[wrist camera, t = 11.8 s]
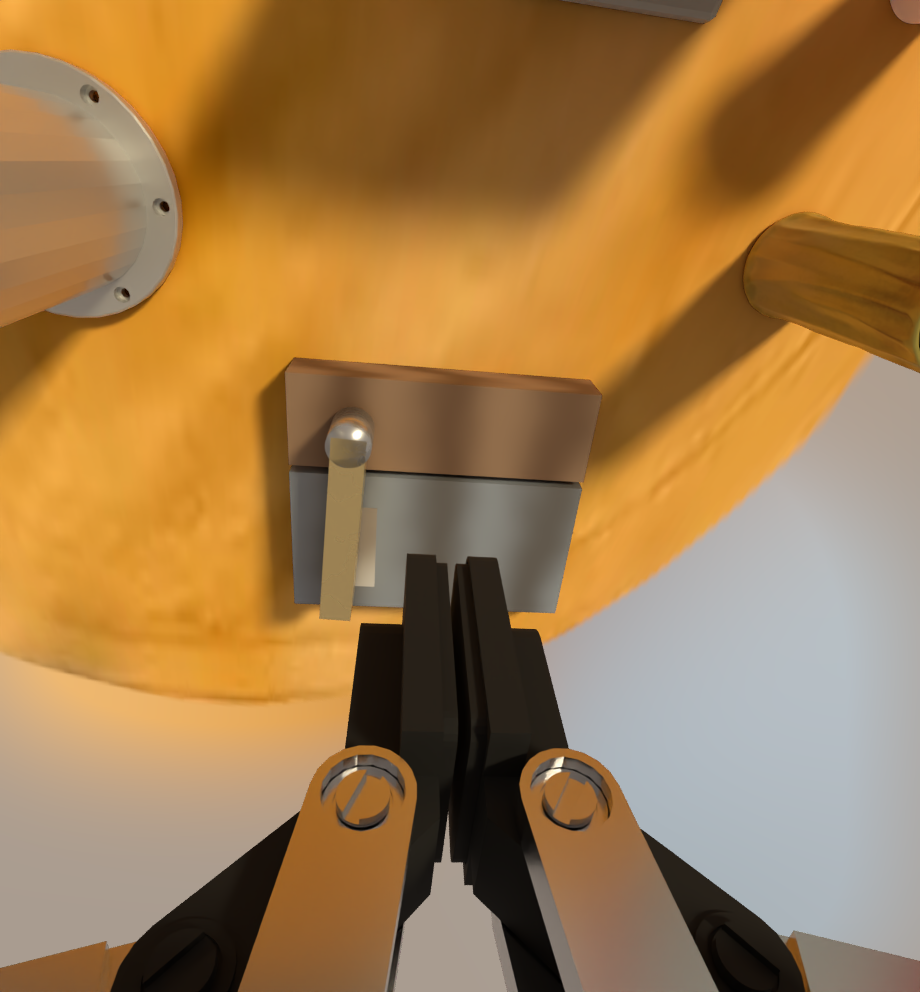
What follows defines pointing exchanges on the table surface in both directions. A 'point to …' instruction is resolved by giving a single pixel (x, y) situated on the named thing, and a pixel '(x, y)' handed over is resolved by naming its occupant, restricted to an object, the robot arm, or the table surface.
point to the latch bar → (344, 508)
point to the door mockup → (443, 474)
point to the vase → (840, 283)
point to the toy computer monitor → (663, 8)
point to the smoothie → (907, 10)
